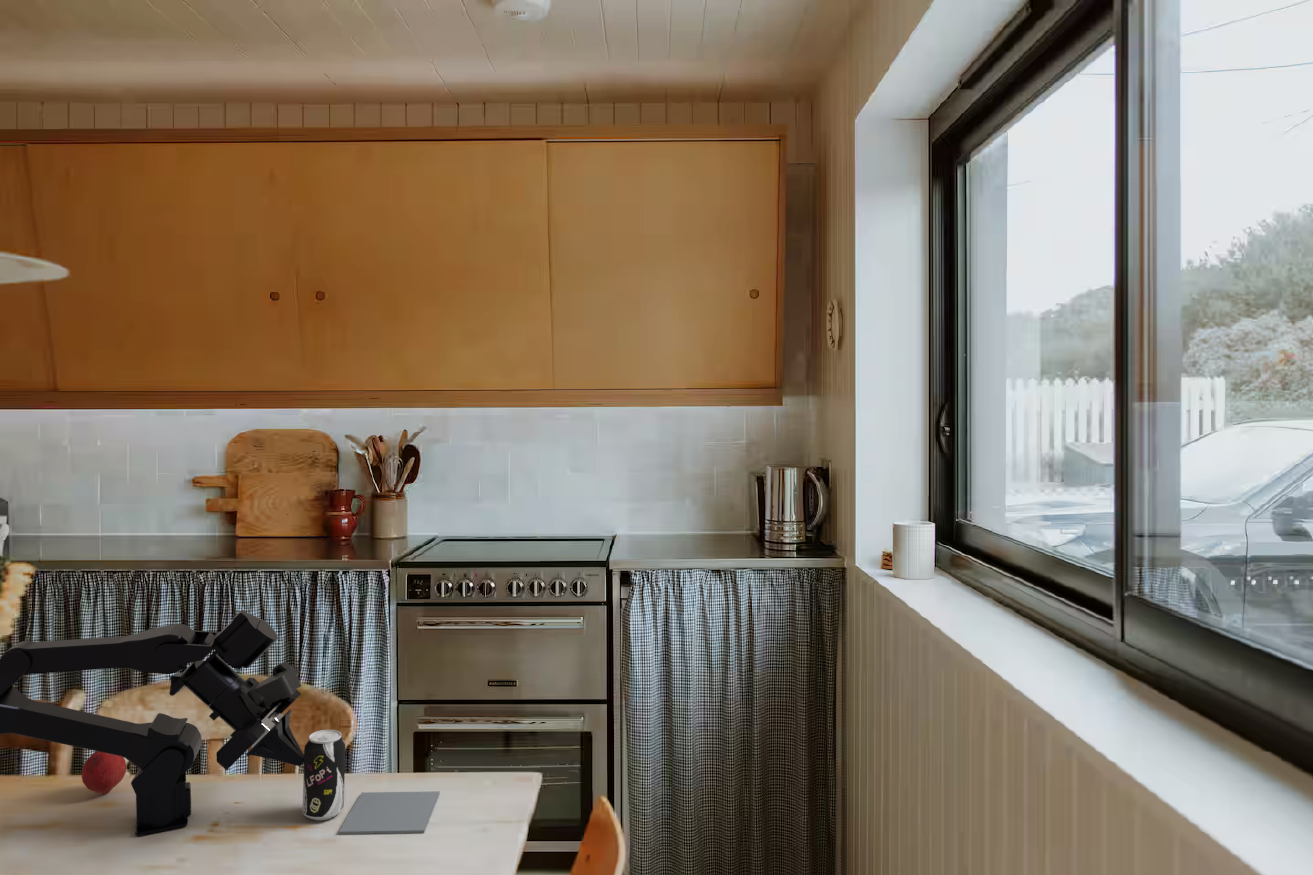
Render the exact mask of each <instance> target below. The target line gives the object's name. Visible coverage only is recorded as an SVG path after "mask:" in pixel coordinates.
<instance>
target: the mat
mask: <svg viewBox="0 0 1313 875" xmlns="http://www.w3.org/2000/svg"><path fill="white" fill-rule="evenodd" d="M440 793H441V792H440V791H439V790H438V791H436V790H435V791H382V792H381V791H380V792H379V791H378V792H375V791H374V792H373V791H371V792H370V791H369V792H365V791H364V792H361V794H359V796H358V798H357V800H356V801H355V803H354V805H353V806H352V808H351V811H349V813H348V815H347V817H346V819H345V820H344V822H343V824H342V825H341V827H340V828H339V830H338V835H374V834H375V833H376V834H375V835H378V833H379V835H380V834H381V835H382V834H388V835H389V834H390V835H391V834H425V832H426V830H427V827H428V824H429V822H430V818H431V816H432V814H433V812H434V809H435V806H436V804H437V802H438V799H439V796H440Z"/></svg>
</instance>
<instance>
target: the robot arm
mask: <svg viewBox="0 0 1313 875" xmlns="http://www.w3.org/2000/svg"><path fill="white" fill-rule="evenodd" d="M278 640H279V637H278V634H277V632H276V631H275V629H273V627H272V625H270V624H269V623H267V622H266V621H265V620H264V619H262V618H261V619H260V618H259V617H257V616H256V615H253V614H251V613H248V612H247V611H246V610H244V609H241V610H240V611H239V612H238V613H236V615H235V616H234V617H233V619H232V620H231V621H230V622H229V623H228V624H227V625H226V626H225V627H224V628H223V629H222V630H221V631H209V630H193V629H192V628H191V627H190V626H189V625H188V624H183V623H174V624H173V623H172V624H168V625H163V626H159V627H154V628H150V629H146V630H143V631H141V632H138V633H133V634H129V635H126V636H124V635H123V636H110V637H109V636H108V637H96V638H95V637H94V638H93V637H90V638H77V639H76V638H75V639H60V640H58V639H57V640H45V641H32V640H23V641H18V643H15V644H14V645H13V646H11V647H10V648H9V649H7V650H6V651H5V652H4V653H3V654H2V655H1V657H0V735H7V734H10V735H11V734H13V735H18V736H23V737H28V738H31V739H32V738H33V739H38V740H42V741H47V742H51V743H57V744H60V745H61V744H62V745H66V746H71V747H76V748H80V749H85V750H90V751H94V752H96V751H98V752H103V753H108V754H113V755H117V756H121V757H124V759H126V760H127V761H128V762H130V763H131V764H132V765H134V766H135V767H137V768H138V771H136V774H135V775H134V777H133V779H132V780H131V782H130V785H131V787H132V790H133V791H134V792H133V793H134V794H135V808H136V810H135V811H136V812H135V813H136V814H135V815H136V817H135V818H136V819H135V820H136V821H135V830H134V835H135V837H140V836H145V835H151V834H155V833H160V832H164V831H169V830H170V831H171V830H174V829H179V828H184V827H186V826H188V825H189V824H188V822H189V820H188V817H189V818H190V816H191V815H192V797H191V796H192V794H191V793H192V789H191V784H192V783H191V782H190V781H187V775H186V774H187V772H188V770H190V769H191V767H192V766H193V764H194V762H195V759H196V757H197V755H198V753H199V752H200V749H201V746H202V742H203V741H202V735H201V732H200V730H199V729H198V727H197V726H196V725H194V724H192V723H190V722H188V718H187V717H182V718H177V717H173V716H170V715H167V714H166V713H162V712H161V713H160V712H159V713H157V714H156V715H155V717H154V719H153V720H152V722H144V723H143V722H141V723H136V722H131V721H127V720H123V719H119V718H118V719H117V718H114V717H109V716H105V715H100V714H95V713H92V712H88V711H86V712H85V711H83V710H78V709H74V708H69V707H65V706H61V705H60V706H59V705H55V704H50V703H47V702H42V701H37V700H32V699H30V698H28V696H26V695H24V694H23V693H22V692H21V691H19V690H18V689H17V688H15V687H14V685H15V684H17V683H18V681H20V680H21V679H22V678H23V677H24V676H26V675H36V674H37V675H38V674H49V673H62V672H63V673H65V672H66V673H67V672H76V671H91V670H93V671H94V670H104V669H105V670H106V669H128V670H131V671H132V670H133V671H136V672H139V673H140V672H141V673H146V674H147V673H148V674H159V675H161V674H162V675H170V676H169V681H170V687H169V695H170V696H175V695H177V694H178V693H180V692H181V691H183V689H185V688H187V689H188V691H189V692H192V694H193V695H194V696H196V697H197V698H198V699H199V700H200V702H202V703H203V704H204V705H206V707H208V708H209V709H210V710H211V711H212V712H211V713H210V714H209V715H208V717H209V718H210V719H211V720H212V721H216V720H217V719H218V718H220V719H221V720H222V721H223V722H224V723H225V724H227V725H228V726H229V727H230V728H231V729H232V730H233V732H232V733H230V739H228V740H227V741H226V742H225V743H224V744H223V746H221V747H220V748H219V749H218V750H217V751H216V753H215V754H216V762H217V763H218V764H219V765H220V766H221V767H222V769H224V770H225V771H228V770H229V769H230V768H231V767H232V766H233V765H234V764H235V763H236V762H237V761H238V760H239V759H240V758H241V756H244V754H245V753H246V752H247V753H246V754H245V756H246V757H250V756H254V757H259V758H264V759H270V760H272V761H273V760H274V761H277V762H282V763H284V764H289V765H294V766H297V767H301V766H302V765H304V751H302V748H301V747H300V745H299V742H298V741H297V740H296V737H295V735H294V733H293V732H292V730H291V727H290V721H291V720H290V718H291V714H292V709H288V708H289V707H290V706H291V705H292V704H293V703H294V702H296V700H297V699H298V698H299V697H300V696H301V695H302V693H301V692H300V691H299V690H298V688H301V686H302V684H301V682H300V680H299V678H298V675H299V674H300V670H299V669H298V668H295V666H294V665H290V664H289V663H288V662H286V661H283V662H280V663H278V664H277V665H275V666H274V667H273V668H272V669H271V670H272V672H271V673H272V674H271V675H270V676H268V677H267V678H265V679H264V680H262V681H258V680H257V679H256V678H255V677H250V676H249V678H247V679H246V680H245V679H244V678H243V677H242V676H241V675H240V674H239V673H238V672H236V671H235V670H234V669H236V670H240V669H241V668H245V669H249V668H250V667H252V665H253V664H254V663H255V662H256V661H257V660H258V659H259V658H260V657H262V656H263V654H264V653H265V652H266V651H267V650H269V649H270V648H271V647H272V646H273V645H274V644H275V643H276V641H278ZM213 650H214V652H213V653H212V651H213ZM209 654H210V655H209ZM205 658H206V659H205ZM204 659H205V660H204ZM188 664H190V665H189V666H188V667H186V666H187V665H188ZM185 667H186V668H185ZM184 668H185V670H184V671H182V670H183V669H184ZM180 671H182V673H179V672H180ZM171 674H172V675H171ZM286 709H288V711H287V712H285V710H286ZM284 712H285V714H283V713H284ZM249 749H250V750H249Z"/></svg>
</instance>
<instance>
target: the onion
mask: <svg viewBox="0 0 1313 875" xmlns="http://www.w3.org/2000/svg"><path fill="white" fill-rule="evenodd" d="M125 759H126V758H124V757H121V756H117V755H113V754H108V753H103V752H98V751H94V752H93V753H92V754H91V755H90V756H89V757H88V758H87V759H86V761H84V762H85V763H84V764H83V766H82V770H81V780H82V783H83V785H84V786H85V787H86V788H87V789H89V790H90V791H92V792H95V793H97V794H101V795H107V794H109V793H110V792H111V791H112V790H113V789H114V788H115V787H117V786H118V785H119V784H120V783H121V781H122V780H123V779H124V777H125V776H126V772H127V763H126V762H127V761H126V760H125Z"/></svg>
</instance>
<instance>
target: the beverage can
mask: <svg viewBox="0 0 1313 875" xmlns="http://www.w3.org/2000/svg"><path fill="white" fill-rule="evenodd" d="M303 754H304V763H303V777H302V778H303V781H302V814H303V816H305V817H307V818H308V819H311V820H312V821H325V820H330V819H333V818H334V817H335V816H337V815H339V814H340V813H341V812H342V811H343V810H344V807H345V805H344V804H345V771H346V770H345V768H346V742H345V740H344V739H343V737H342V733H341V732H340V731H338V730H335V729H322V730H317V731H314V732H312V733H311V734H309V736H308V741H307V742H306V743H305V745H304V749H303ZM332 817H333V818H332Z"/></svg>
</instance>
